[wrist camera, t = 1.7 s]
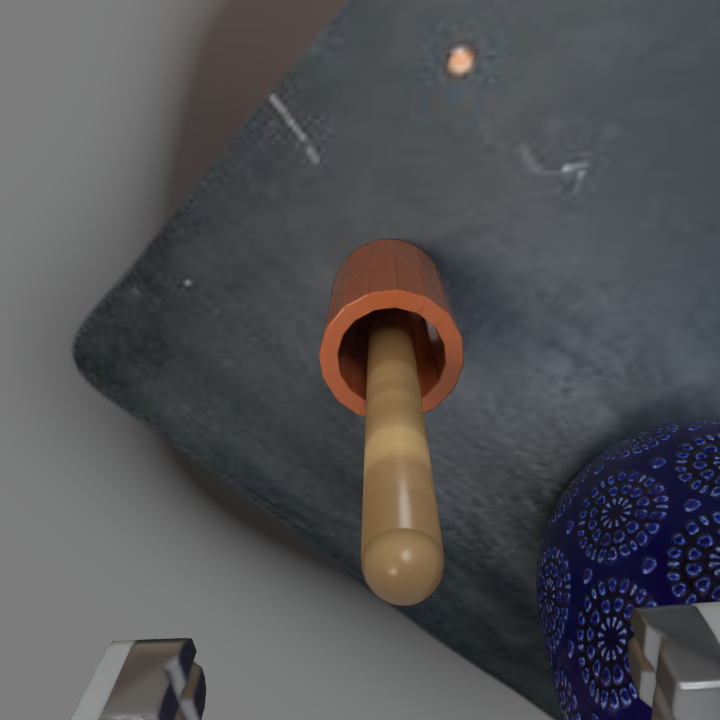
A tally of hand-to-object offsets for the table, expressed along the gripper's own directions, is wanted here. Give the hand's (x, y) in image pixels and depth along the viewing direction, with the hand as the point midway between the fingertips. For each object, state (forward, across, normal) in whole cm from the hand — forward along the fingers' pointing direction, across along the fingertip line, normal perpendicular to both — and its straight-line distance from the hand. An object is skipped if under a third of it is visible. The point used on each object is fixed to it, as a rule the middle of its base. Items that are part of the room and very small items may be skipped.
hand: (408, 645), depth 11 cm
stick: (+20, 0, 0) cm, 20 cm away
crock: (+20, 0, 0) cm, 21 cm away
